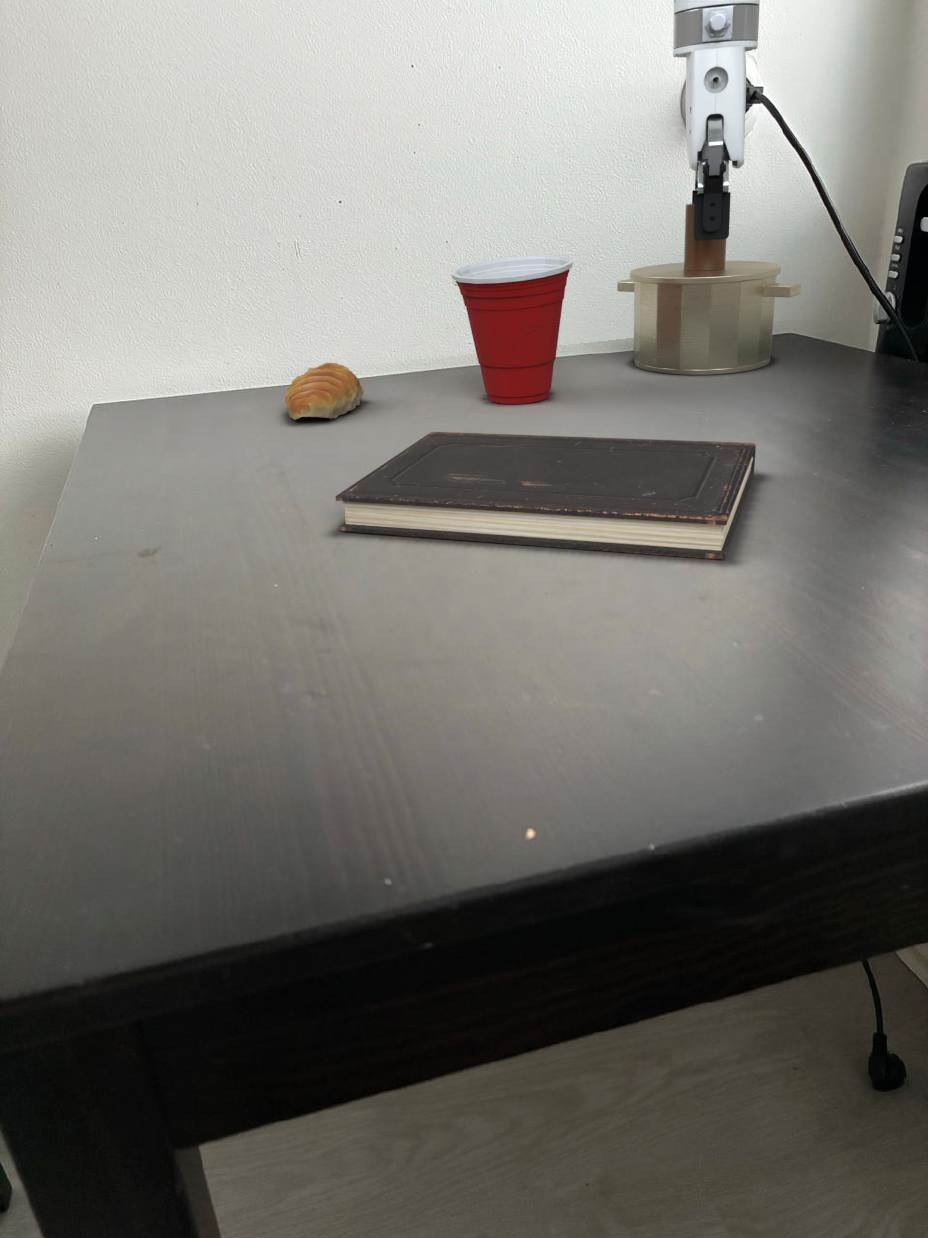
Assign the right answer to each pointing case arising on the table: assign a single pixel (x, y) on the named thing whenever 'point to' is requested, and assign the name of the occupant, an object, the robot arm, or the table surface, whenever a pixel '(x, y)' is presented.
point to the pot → (704, 325)
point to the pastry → (324, 392)
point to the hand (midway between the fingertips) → (709, 235)
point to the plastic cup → (515, 322)
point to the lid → (704, 263)
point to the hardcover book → (559, 492)
